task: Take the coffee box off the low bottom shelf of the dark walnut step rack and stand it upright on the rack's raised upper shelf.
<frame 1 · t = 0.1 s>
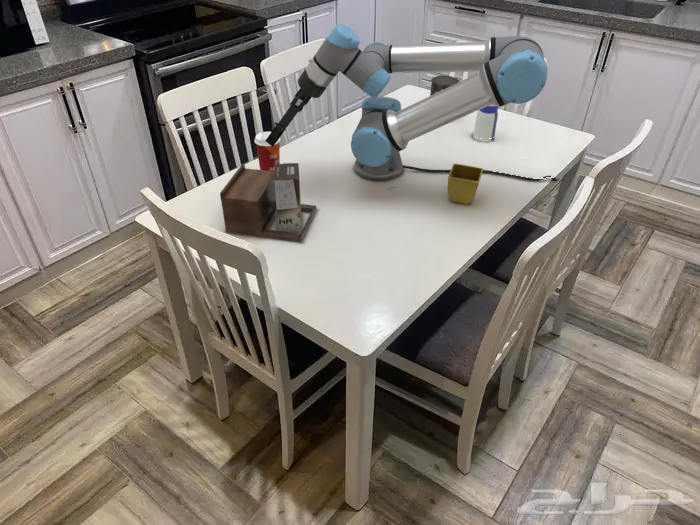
hand: (276, 133, 157), 15 cm above the table, tool tilted 35°, fingers open, 13 cm apart
paper cup: (270, 178, 168), on the table
water bottle: (482, 137, 193), on the table
coffee can: (440, 117, 207), on the table
rack: (271, 220, 149), on the table
flower pot: (461, 199, 159), on the table
coffee box: (290, 223, 148), resting in rack
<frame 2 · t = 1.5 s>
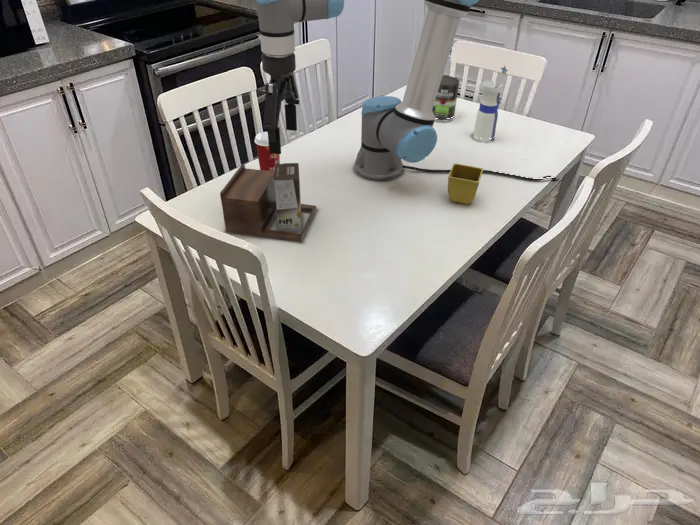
hand: (283, 141, 133), 24 cm above the table, tool pointing down, fingers open, 13 cm apart
nothing on the table moved.
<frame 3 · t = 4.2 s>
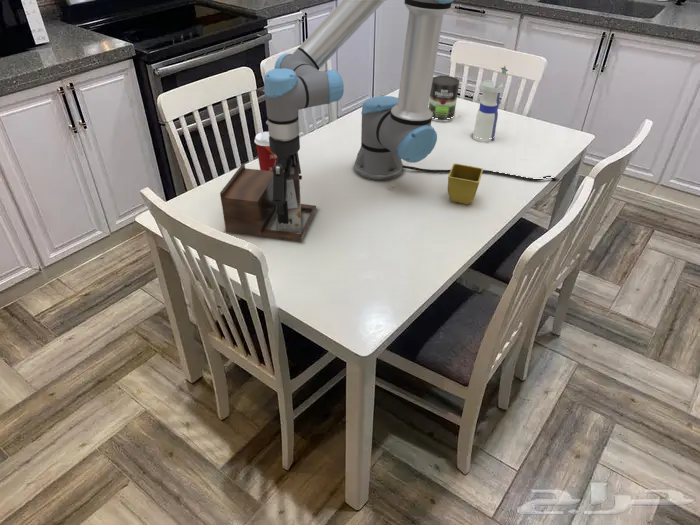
hand: (289, 211, 145), 4 cm above the table, tool pointing down, fingers closed on coffee box, 10 cm apart
coffee box: (290, 223, 148), resting in rack, touching gripper
everything else where it was.
when the fingers open (15 cm above the table, at t = 10.2 s): coffee box stays where it is, resting on rack.
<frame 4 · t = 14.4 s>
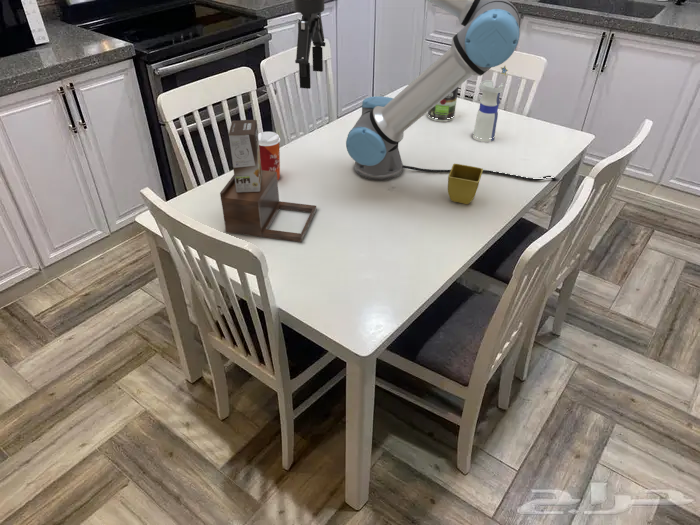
hand: (311, 79, 147), 32 cm above the table, tool pointing down, fingers open, 13 cm apart
coffee box: (249, 184, 143), point 11 cm above the table, touching rack
everything else where it was.
at the end: coffee box inside the target area on the rack (0.2 cm from its centre), point 10.8 cm above the rack's base; coffee box tilted 0°; the gripper is holding nothing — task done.
